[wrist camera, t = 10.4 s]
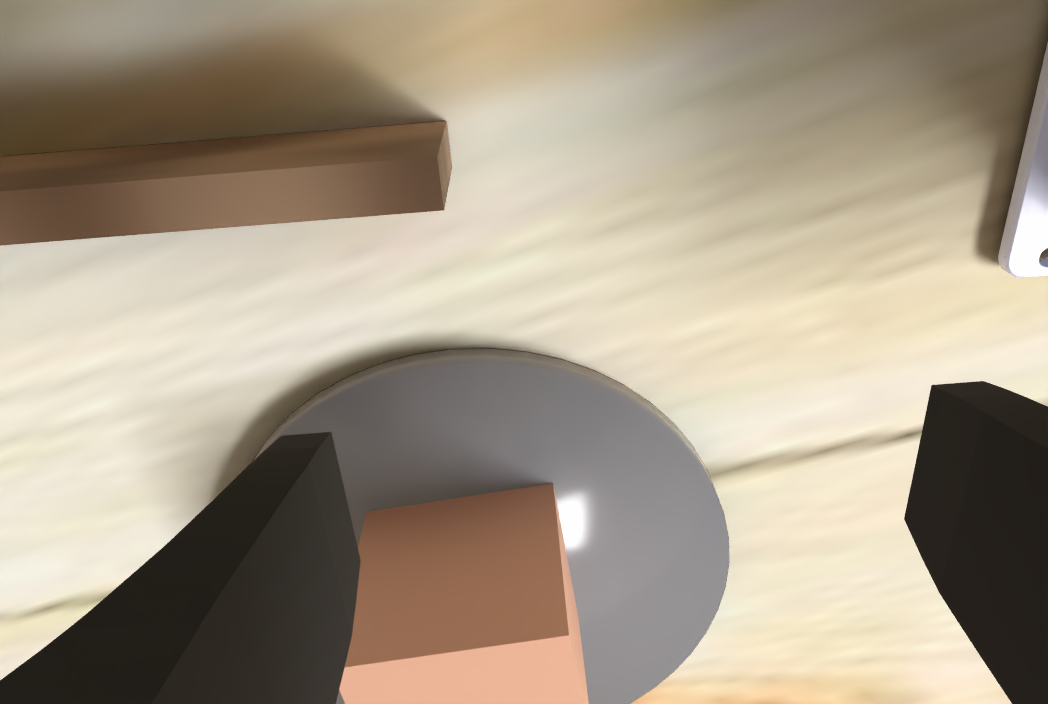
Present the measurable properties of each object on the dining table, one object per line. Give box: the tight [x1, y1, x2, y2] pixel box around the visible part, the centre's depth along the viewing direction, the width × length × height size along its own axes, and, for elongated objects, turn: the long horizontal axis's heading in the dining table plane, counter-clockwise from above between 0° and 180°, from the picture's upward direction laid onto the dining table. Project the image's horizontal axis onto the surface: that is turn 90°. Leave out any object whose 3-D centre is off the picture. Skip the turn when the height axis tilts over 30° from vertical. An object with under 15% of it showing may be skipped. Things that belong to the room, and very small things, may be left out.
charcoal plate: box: [253, 348, 729, 704], centre depth 22 cm, size 14×14×1 cm
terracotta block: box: [339, 483, 589, 704], centre depth 19 cm, size 5×5×5 cm
